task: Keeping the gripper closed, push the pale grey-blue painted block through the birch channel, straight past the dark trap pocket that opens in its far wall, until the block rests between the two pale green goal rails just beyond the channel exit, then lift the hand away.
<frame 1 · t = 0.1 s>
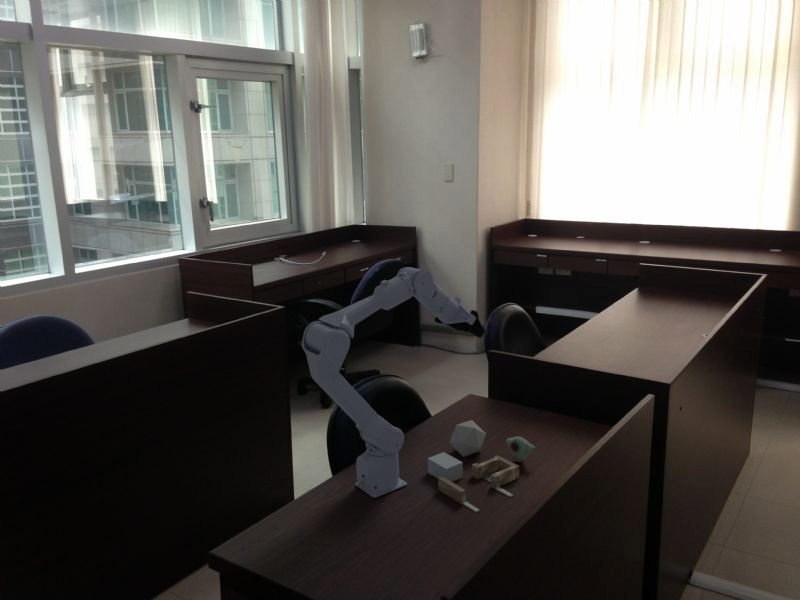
hand: (471, 330, 167), 32 cm above the table, tool tilted 50°, fingers open, 7 cm apart
channel: (469, 488, 156), on the table
grey block: (445, 475, 163), on the table
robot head: (518, 462, 168), on the table
die: (467, 452, 174), on the table
goal rails: (487, 499, 151), on the table
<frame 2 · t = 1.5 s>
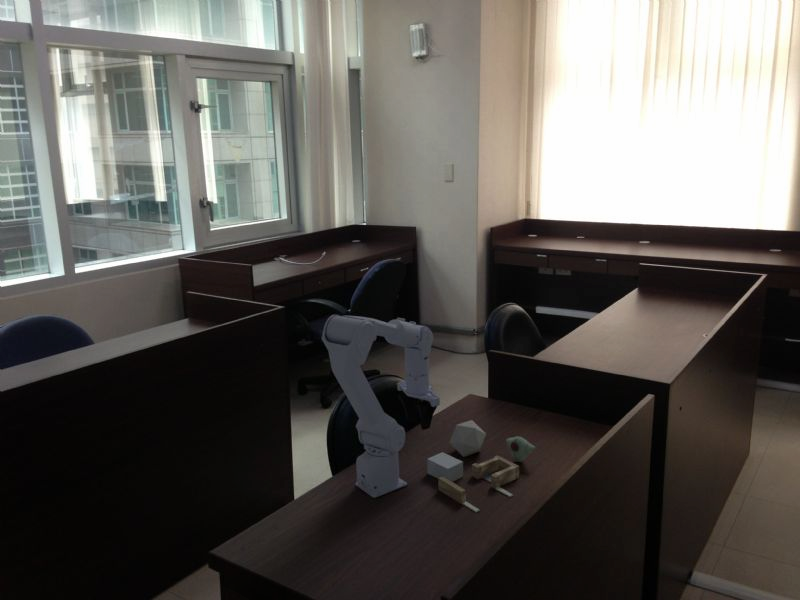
hand: (418, 424, 168), 9 cm above the table, tool pointing down, fingers open, 5 cm apart
nothing on the table moved.
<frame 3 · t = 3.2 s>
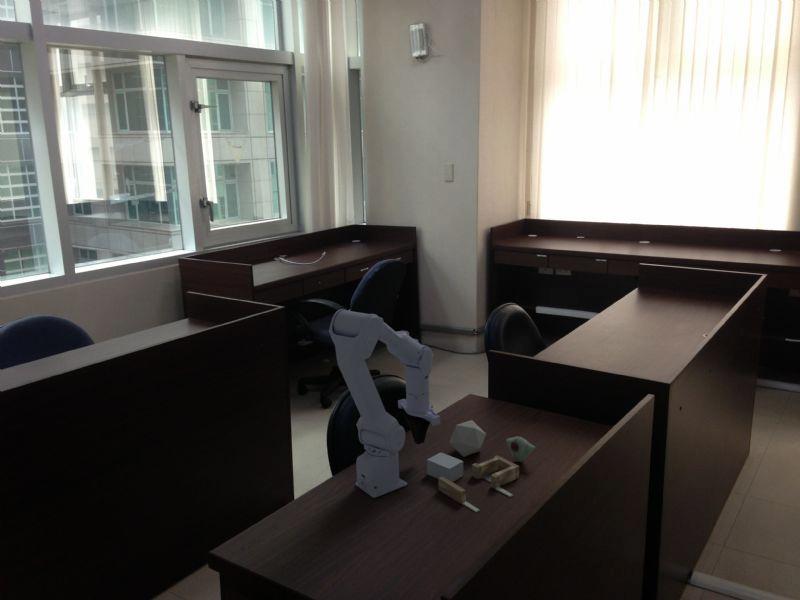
hand: (419, 442, 169), 5 cm above the table, tool pointing down, fingers closed
nothing on the table moved.
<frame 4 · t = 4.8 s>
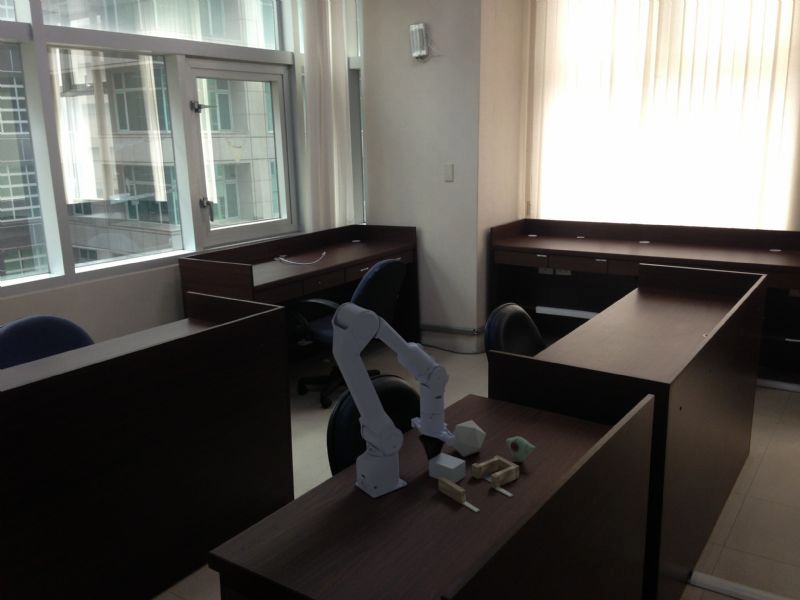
hand: (433, 462, 166), 1 cm above the table, tool pointing down, fingers closed
grey block: (447, 476, 162), on the table, touching gripper
everything else where it was.
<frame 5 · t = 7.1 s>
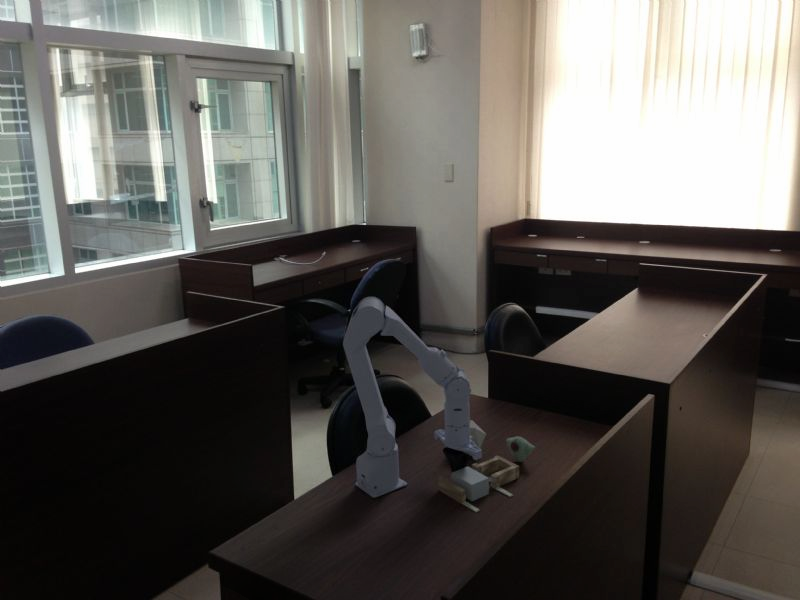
hand: (458, 476, 158), 1 cm above the table, tool pointing down, fingers closed
grey block: (470, 491, 155), on the table, touching gripper
everything else where it was.
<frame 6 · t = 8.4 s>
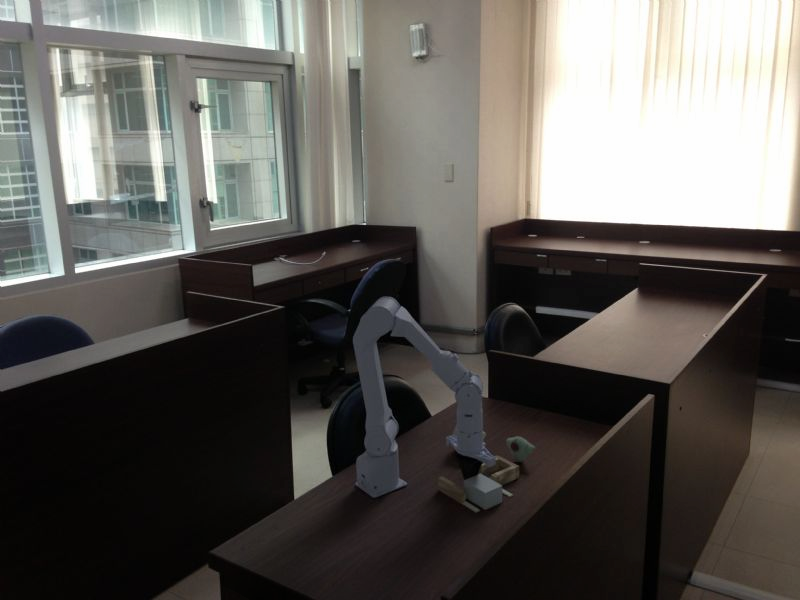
hand: (470, 484, 155), 1 cm above the table, tool pointing down, fingers closed
grey block: (482, 499, 151), on the table, touching gripper
everything else where it was.
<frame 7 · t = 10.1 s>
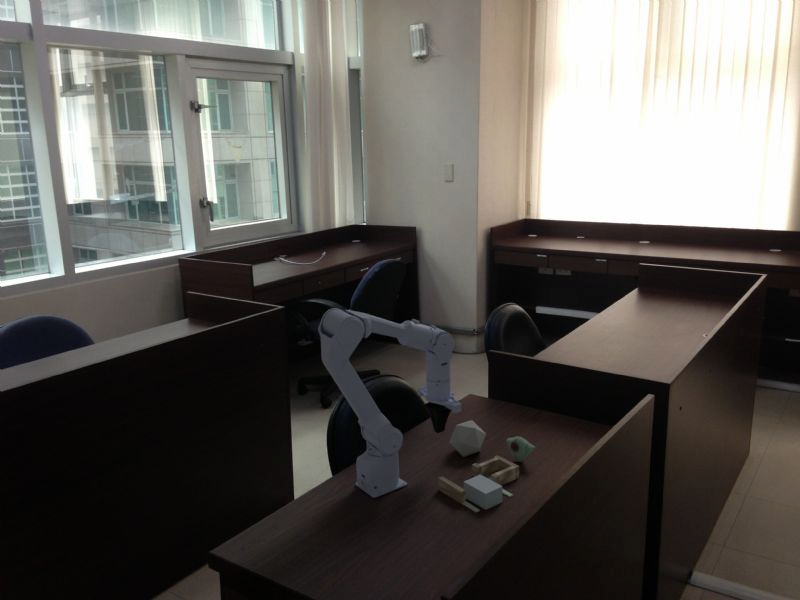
hand: (439, 431, 164), 9 cm above the table, tool pointing down, fingers closed
grey block: (483, 500, 151), on the table
everything else where it was.
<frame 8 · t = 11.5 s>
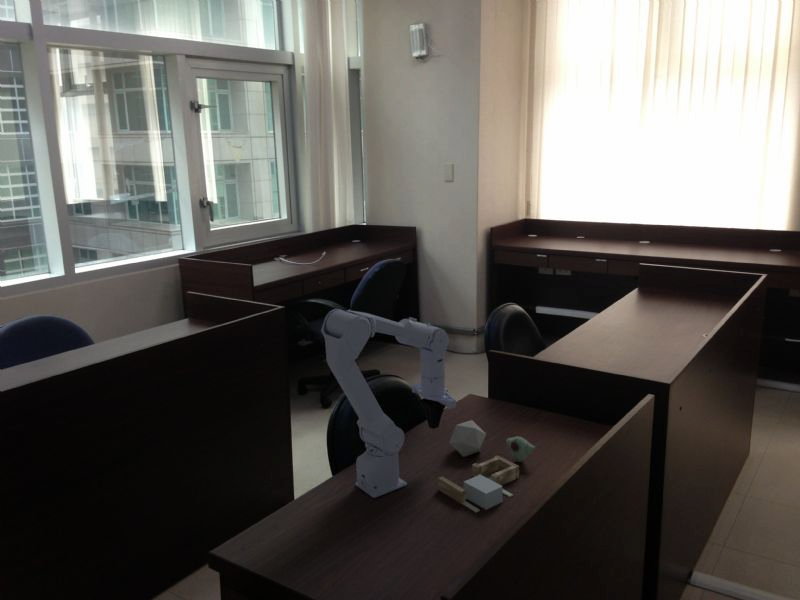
hand: (433, 427, 167), 9 cm above the table, tool pointing down, fingers closed
nothing on the table moved.
at the end: grey block inside the target area (1.3 cm from its centre), on the table; grey block tilted 0°; grey block moved 13.9 cm from its start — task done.
